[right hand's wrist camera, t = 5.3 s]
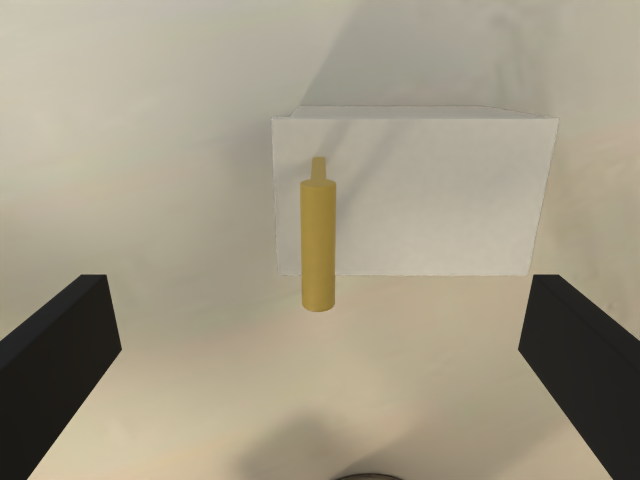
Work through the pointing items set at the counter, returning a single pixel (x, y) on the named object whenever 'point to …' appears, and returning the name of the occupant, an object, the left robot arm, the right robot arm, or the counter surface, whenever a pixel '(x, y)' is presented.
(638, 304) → the counter surface
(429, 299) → the counter surface
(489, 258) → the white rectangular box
